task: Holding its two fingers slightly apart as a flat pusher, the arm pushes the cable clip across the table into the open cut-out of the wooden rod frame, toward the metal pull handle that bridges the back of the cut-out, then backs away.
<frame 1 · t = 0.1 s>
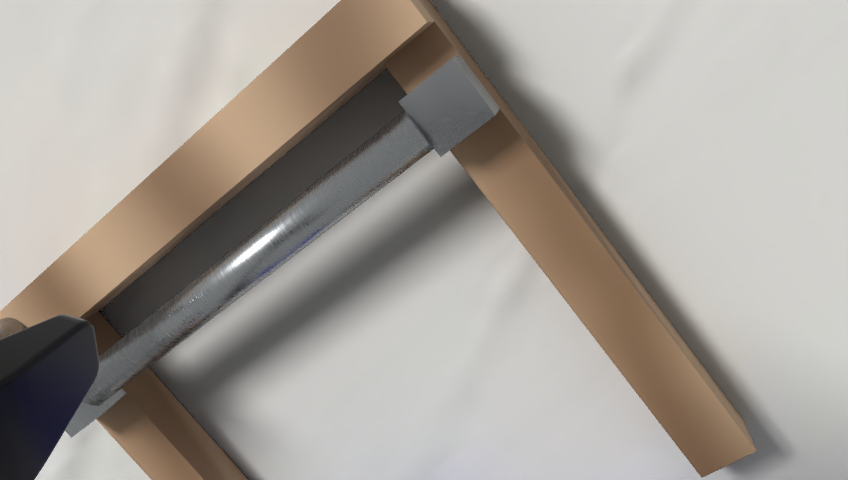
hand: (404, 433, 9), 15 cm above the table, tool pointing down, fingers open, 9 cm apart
metal pull handle: (182, 253, 22), resting in wooden rod frame
wooden rod frame: (388, 386, 27), on the table
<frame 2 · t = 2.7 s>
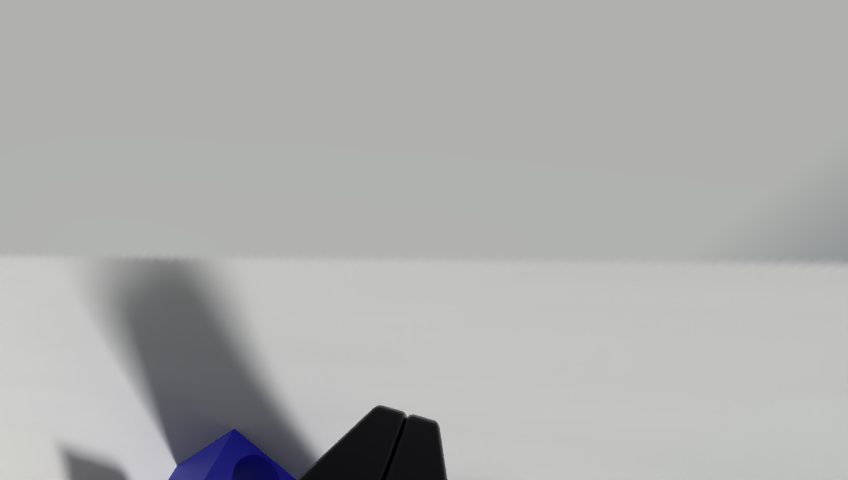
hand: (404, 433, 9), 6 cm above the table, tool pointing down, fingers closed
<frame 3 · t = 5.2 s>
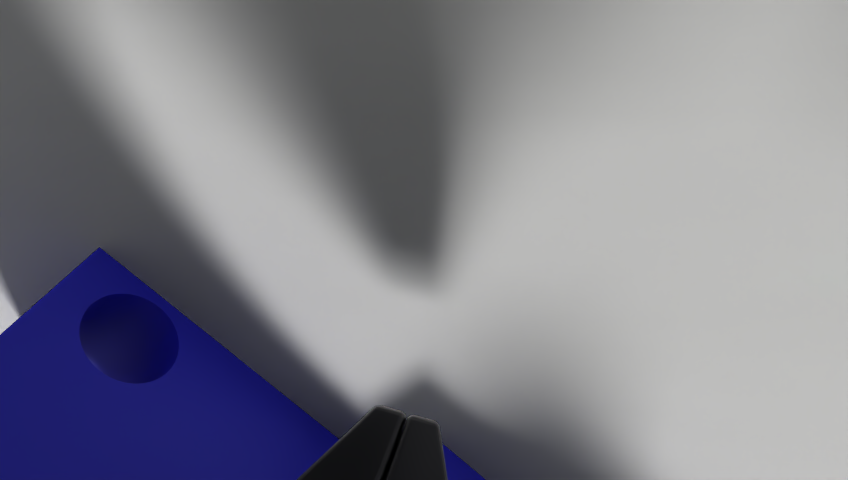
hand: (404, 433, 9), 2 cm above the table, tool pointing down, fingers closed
cable clip: (358, 474, 13), on the table
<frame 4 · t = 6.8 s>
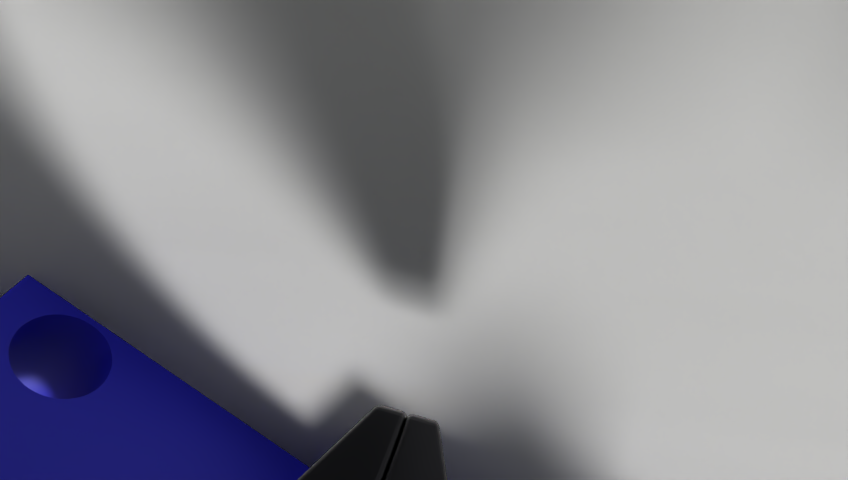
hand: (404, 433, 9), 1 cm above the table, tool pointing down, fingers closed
cable clip: (308, 477, 13), on the table
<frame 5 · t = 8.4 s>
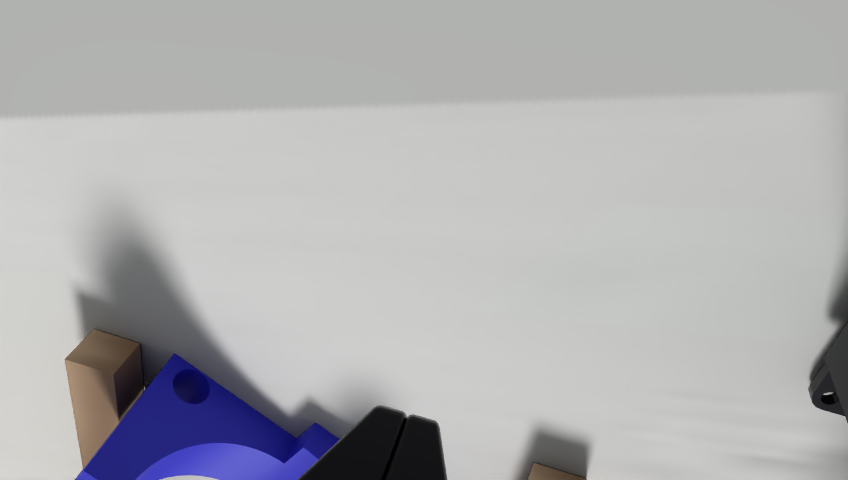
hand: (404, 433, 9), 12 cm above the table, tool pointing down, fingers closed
cable clip: (291, 439, 30), on the table
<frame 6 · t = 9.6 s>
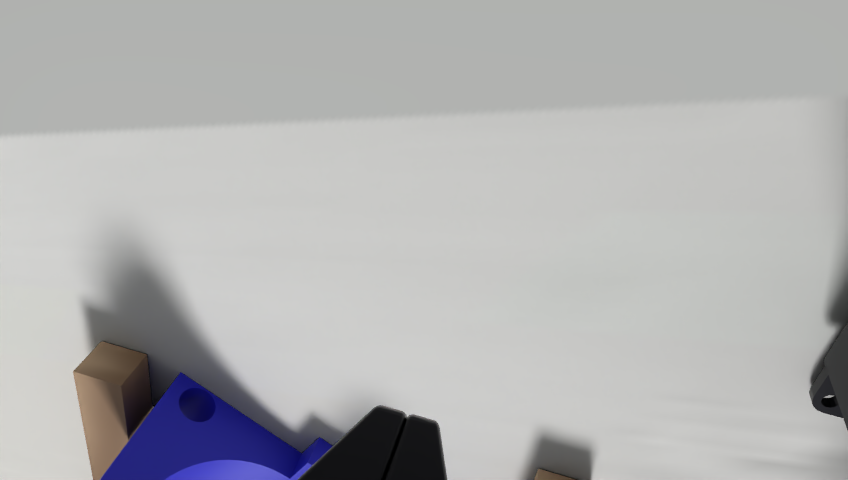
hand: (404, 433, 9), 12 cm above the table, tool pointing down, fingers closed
cable clip: (296, 454, 30), on the table
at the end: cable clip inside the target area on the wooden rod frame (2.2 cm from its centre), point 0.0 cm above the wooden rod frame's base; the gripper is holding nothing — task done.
